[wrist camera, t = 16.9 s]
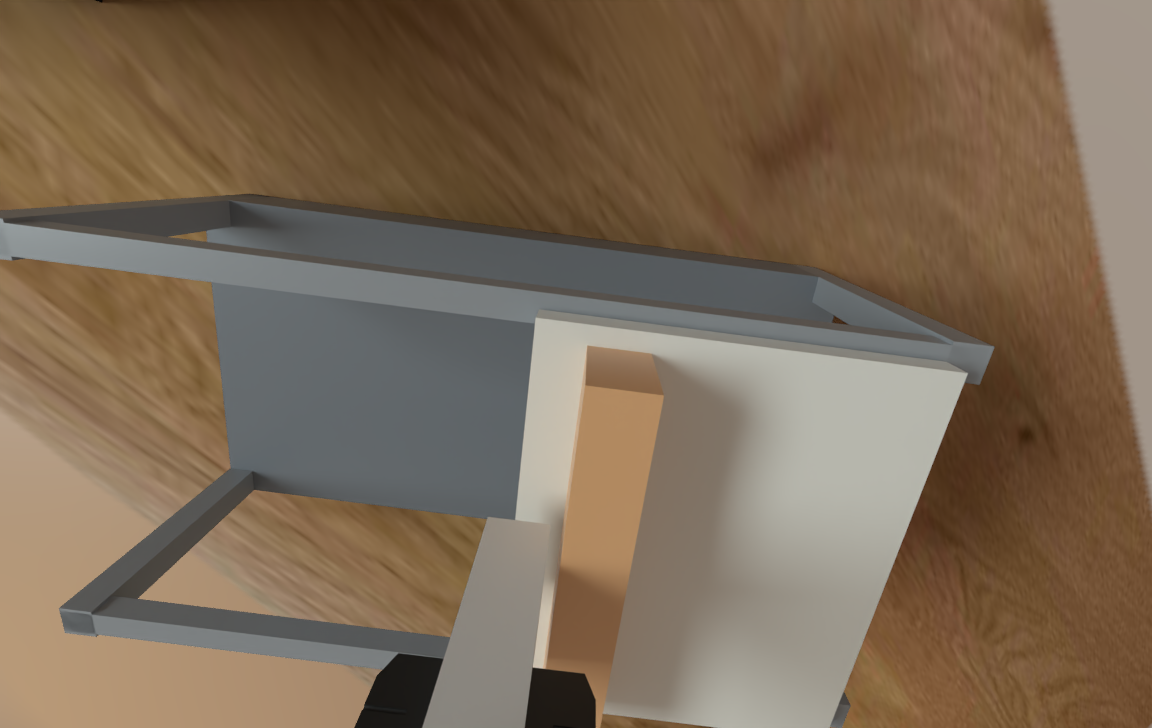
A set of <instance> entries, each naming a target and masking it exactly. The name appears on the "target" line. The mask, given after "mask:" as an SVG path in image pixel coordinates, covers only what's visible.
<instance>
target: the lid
mask: <svg viewBox="0 0 1152 728" xmlns="http://www.w3.org/2000/svg"><path fill="white" fill-rule="evenodd" d="M967 375H968V373H967V372H965V371H963V370H961V369H959V368H957V367H956V366H954V365H952V364H950V363H948V362H945V361H937V360H929V359H921V358H913V357H906V356H898V355H890V354H882V353H875V352H867V351H859V350H851V349H844V348H836V347H828V346H820V345H813V344H805V343H797V342H789V341H781V340H774V339H766V338H758V337H750V336H743V335H735V334H727V333H719V332H712V331H704V330H696V329H688V328H681V327H673V326H665V325H657V324H649V323H642V322H634V321H626V320H618V319H611V318H603V317H595V316H587V315H580V314H572V313H564V312H556V311H549V310H541V309H539V311H538V313H537V316H536V319H535V329H534V339H533V349H532V359H531V369H530V378H529V388H528V398H527V408H526V418H525V428H524V438H523V447H522V457H521V467H520V477H519V487H518V497H517V506H516V516H515V520H519V521H527V522H535V523H543V524H551V525H550V533H549V541H548V549H547V558H546V566H545V574H544V582H543V590H542V599H541V607H540V615H539V623H538V631H537V639H536V646H535V654H534V662H533V668H542V669H550V670H558V671H567V672H575V673H584V674H585V675H586V678H587V680H588V682H589V685H590V687H591V690H592V692H593V695H594V697H595V699H596V728H600V725H601V720H602V715H603V714H610V715H618V716H627V717H635V718H643V719H651V720H659V721H667V722H676V723H684V724H692V725H700V726H708V727H716V728H829V727H830V725H831V722H832V720H833V717H834V715H835V712H836V709H837V707H838V704H839V702H840V699H841V697H842V694H843V692H844V689H845V686H846V684H847V681H848V679H849V676H850V674H851V671H852V669H853V666H854V663H855V661H856V658H857V656H858V653H859V651H860V648H861V646H862V643H863V640H864V638H865V635H866V633H867V630H868V628H869V625H870V623H871V620H872V617H873V615H874V612H875V610H876V607H877V605H878V602H879V600H880V597H881V594H882V592H883V589H884V587H885V584H886V582H887V579H888V577H889V574H890V571H891V569H892V566H893V564H894V561H895V559H896V556H897V554H898V551H899V548H900V546H901V543H902V541H903V538H904V536H905V533H906V531H907V528H908V525H909V523H910V520H911V518H912V515H913V513H914V510H915V507H916V505H917V502H918V500H919V497H920V495H921V492H922V490H923V487H924V484H925V482H926V479H927V477H928V474H929V472H930V469H931V467H932V464H933V461H934V459H935V456H936V454H937V451H938V449H939V446H940V444H941V441H942V438H943V436H944V433H945V431H946V428H947V426H948V423H949V421H950V418H951V415H952V413H953V410H954V408H955V405H956V403H957V400H958V398H959V395H960V392H961V390H962V387H963V385H964V382H965V380H966V377H967Z"/></svg>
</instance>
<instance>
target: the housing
mask: <svg viewBox="0 0 1152 728" xmlns="http://www.w3.org/2000/svg"><path fill="white" fill-rule="evenodd" d="M201 231H206V232H207V242H202V241H195V240H187V239H179V238H171V237H168V236H175V235H181V234H188V233H194V232H201ZM25 258H28V259H36V260H44V261H51V262H59V263H67V264H75V265H82V266H90V267H98V268H106V269H114V270H121V271H129V272H137V273H145V274H152V275H160V276H168V277H176V278H184V279H191V280H199V281H207V282H212V291H213V300H214V310H215V320H216V330H217V339H218V349H219V359H220V368H221V378H222V388H223V398H224V407H225V417H226V427H227V437H228V446H229V456H230V466H231V469H229V470H228V471H227V472H226V473H224V474H223V475H222V476H221V477H219V478H218V479H217V480H216V481H215V482H213V483H212V484H211V485H210V486H208V487H207V488H206V489H205V490H203V491H202V492H201V493H200V494H199V495H197V496H196V497H195V498H194V499H192V500H191V501H190V502H189V503H188V504H186V505H185V506H184V507H183V508H181V509H180V510H179V511H178V512H176V513H175V514H174V515H173V516H172V517H170V518H169V519H168V520H167V521H165V522H164V523H163V524H162V525H161V526H159V527H158V528H157V529H156V530H154V531H153V532H152V533H151V534H150V535H148V536H147V537H146V538H145V539H143V540H142V541H141V542H140V543H138V544H137V545H136V546H135V547H134V548H132V549H131V550H130V551H129V552H127V553H126V554H125V555H124V556H122V557H121V558H120V559H119V560H118V561H116V562H115V563H114V564H113V565H111V566H110V567H109V568H108V569H107V570H105V571H104V572H103V573H102V574H100V575H99V576H98V577H97V578H95V579H94V580H93V581H92V582H91V583H89V584H88V585H87V586H86V587H84V588H83V589H82V590H81V591H80V592H78V593H77V594H76V595H75V596H73V597H72V598H71V599H70V600H68V601H67V602H66V603H65V604H64V605H62V606H61V607H60V608H59V610H60V614H61V618H62V622H63V626H64V630H65V633H70V634H78V635H87V636H95V637H97V636H98V635H106V636H114V637H123V638H130V639H138V640H147V641H155V642H163V643H171V644H179V645H187V646H195V647H204V648H212V649H220V650H229V651H236V652H244V653H252V654H260V655H269V656H277V657H285V658H293V659H301V660H309V661H318V662H326V663H334V664H342V665H350V666H358V667H366V668H375V669H384V668H385V667H386V666H387V665H388V664H389V662H390V661H391V660H392V659H393V658H394V657H395V656H396V655H397V654H398V653H402V654H410V655H419V656H427V657H435V658H444V656H445V653H446V650H447V647H448V643H449V640H450V637H442V636H434V635H426V634H418V633H410V632H402V631H394V630H385V629H377V628H369V627H361V626H353V625H345V624H337V623H329V622H321V621H312V620H304V619H296V618H288V617H280V616H272V615H264V614H256V613H248V612H239V611H231V610H223V609H215V608H207V607H199V606H191V605H183V604H175V603H167V602H158V601H150V600H142V599H138V598H139V596H141V595H142V594H143V593H144V592H145V591H146V590H147V589H148V588H149V587H150V586H151V585H153V584H154V583H155V582H156V581H157V580H158V579H159V578H160V577H161V576H162V575H163V574H164V573H165V572H166V571H167V570H169V569H170V568H171V567H172V566H173V565H174V564H175V563H176V562H177V561H178V560H179V559H180V558H181V557H183V555H185V554H186V553H187V552H188V551H189V550H190V549H191V548H192V547H193V546H194V545H195V544H196V543H198V542H199V541H200V540H201V539H202V538H203V537H204V536H205V535H206V534H207V533H208V532H209V531H210V530H211V529H213V528H214V527H215V526H216V525H217V524H218V523H219V522H220V521H221V520H222V519H223V518H224V517H225V516H226V515H228V514H229V513H230V512H231V511H232V510H233V509H234V508H235V507H236V506H237V505H238V504H239V503H240V502H241V501H243V500H244V499H245V498H246V497H247V496H248V495H249V494H250V493H251V492H252V491H253V490H260V491H268V492H276V493H284V494H292V495H300V496H308V497H316V498H324V499H332V500H340V501H348V502H356V503H364V504H372V505H380V506H388V507H396V508H404V509H412V510H420V511H428V512H436V513H444V514H452V515H460V516H468V517H476V518H484V519H487V518H488V517H494V518H502V519H510V520H515V516H516V506H517V497H518V487H519V477H520V467H521V457H522V447H523V438H524V428H525V418H526V408H527V398H528V388H529V378H530V369H531V359H532V349H533V339H534V329H535V319H536V316H537V313H538V311H539V309H541V310H549V311H556V312H564V313H572V314H580V315H587V316H595V317H603V318H611V319H618V320H626V321H634V322H642V323H649V324H657V325H665V326H673V327H681V328H688V329H696V330H704V331H712V332H719V333H727V334H735V335H743V336H750V337H758V338H766V339H774V340H781V341H789V342H797V343H805V344H813V345H820V346H828V347H836V348H844V349H851V350H859V351H867V352H875V353H882V354H890V355H898V356H906V357H913V358H921V359H929V360H937V361H945V362H948V363H950V364H952V365H954V366H956V367H957V368H959V369H961V370H963V371H965V372H967V373H968V375H967V377H966V380H965V382H964V383H970V384H978V385H980V382H981V380H982V377H983V375H984V372H985V370H986V367H987V365H988V362H989V360H990V357H991V355H992V352H993V350H994V346H992V345H990V344H988V343H985V342H983V341H981V340H978V339H976V338H974V337H972V336H969V335H967V334H965V333H963V332H960V331H958V330H956V329H954V328H951V327H949V326H947V325H944V324H942V323H940V322H938V321H935V320H933V319H931V318H929V317H926V316H924V315H922V314H920V313H917V312H915V311H913V310H910V309H908V308H906V307H904V306H901V305H899V304H897V303H895V302H892V301H890V300H888V299H886V298H883V297H881V296H879V295H876V294H874V293H872V292H870V291H867V290H865V289H863V288H861V287H858V286H856V285H854V284H852V283H849V282H847V281H845V280H842V279H840V278H838V277H836V276H833V275H831V274H829V273H827V272H824V271H822V270H820V269H817V268H815V267H808V266H800V265H792V264H785V263H777V262H769V261H762V260H754V259H746V258H739V257H731V256H723V255H715V254H708V253H700V252H692V251H685V250H677V249H669V248H662V247H654V246H646V245H639V244H631V243H623V242H616V241H608V240H600V239H592V238H585V237H577V236H569V235H562V234H554V233H546V232H539V231H531V230H523V229H516V228H508V227H500V226H492V225H485V224H477V223H469V222H462V221H454V220H446V219H439V218H431V217H423V216H416V215H408V214H400V213H392V212H385V211H377V210H369V209H362V208H354V207H346V206H339V205H331V204H323V203H316V202H308V201H300V200H293V199H285V198H277V197H269V196H262V195H254V194H241V195H226V196H211V197H196V198H181V199H166V200H151V201H136V202H121V203H106V204H91V205H76V206H61V207H46V208H31V209H16V210H1V211H0V259H5V260H18V259H25ZM834 316H836V317H837V318H839V319H841V320H842V321H844V322H846V323H847V324H849V325H845V324H837V323H832V321H833V317H834ZM849 708H850V703H849V701H848V699H847V697H846V695H845V693H844V692H843V694H842V697H841V699H840V702H839V704H838V707H837V709H836V712H835V715H834V717H833V720H832V722H831V725H830V727H837V728H842V726H843V723H844V721H845V718H846V716H847V713H848V711H849Z"/></svg>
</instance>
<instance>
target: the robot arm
mask: <svg viewBox="0 0 1152 728" xmlns="http://www.w3.org/2000/svg"><path fill="white" fill-rule="evenodd" d="M550 525H551V524H543V523H535V522H527V521H519V520H510V519H502V518H494V517H488V518H487V522H486V525H485V528H484V531H483V534H482V538H481V541H480V544H479V547H478V550H477V554H476V557H475V560H474V563H473V566H472V570H471V573H470V576H469V579H468V582H467V586H466V589H465V592H464V595H463V599H462V602H461V605H460V608H459V611H458V615H457V618H456V621H455V624H454V627H453V631H452V634H451V637H450V640H449V643H448V647H447V650H446V653H445V656H444V658H435V657H427V656H419V655H410V654H402V653H398V654H397V655H396V656H395V657H394V658H393V659H392V660H391V661H390V662H389V664H388V665H387V666H386V667H385V668H384V669H383V670H382V671H381V672H380V673H379V674H378V675H377V677H376V679H375V681H374V684H373V686H372V688H371V691H370V693H369V695H368V698H367V700H366V702H365V705H364V709H363V710H362V711H361V714H360V716H359V718H358V721H357V723H356V725H355V728H596V699H595V697H594V695H593V692H592V690H591V687H590V685H589V682H588V680H587V678H586V675H585V674H584V673H575V672H567V671H558V670H550V669H542V668H533V662H534V654H535V646H536V639H537V631H538V623H539V615H540V607H541V599H542V590H543V582H544V574H545V566H546V558H547V549H548V541H549V533H550Z"/></svg>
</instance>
